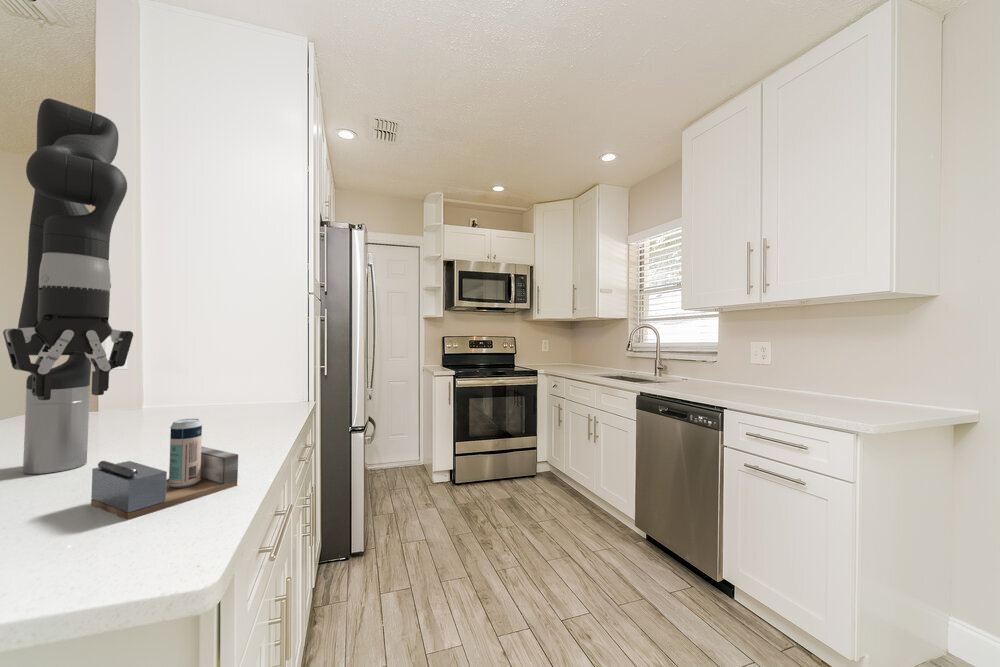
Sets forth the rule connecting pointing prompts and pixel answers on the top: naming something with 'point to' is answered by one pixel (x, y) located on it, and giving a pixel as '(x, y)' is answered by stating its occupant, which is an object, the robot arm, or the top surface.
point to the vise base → (214, 476)
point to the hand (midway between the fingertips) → (71, 396)
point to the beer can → (185, 453)
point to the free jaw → (128, 485)
